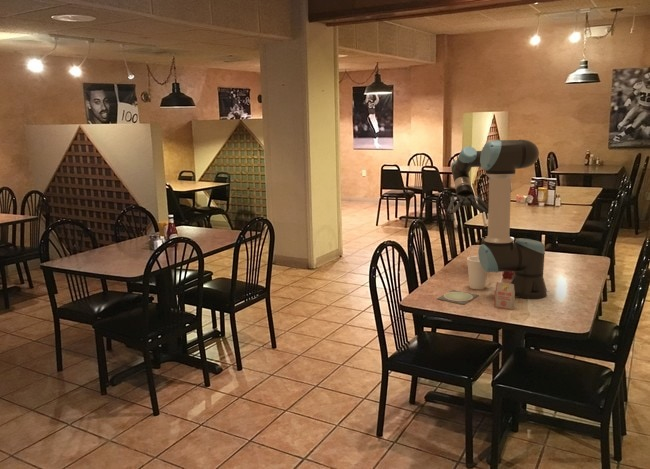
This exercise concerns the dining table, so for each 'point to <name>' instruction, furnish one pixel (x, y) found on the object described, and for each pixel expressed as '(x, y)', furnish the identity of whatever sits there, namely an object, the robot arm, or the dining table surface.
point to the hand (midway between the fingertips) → (471, 225)
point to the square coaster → (458, 297)
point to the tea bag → (504, 295)
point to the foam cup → (476, 273)
